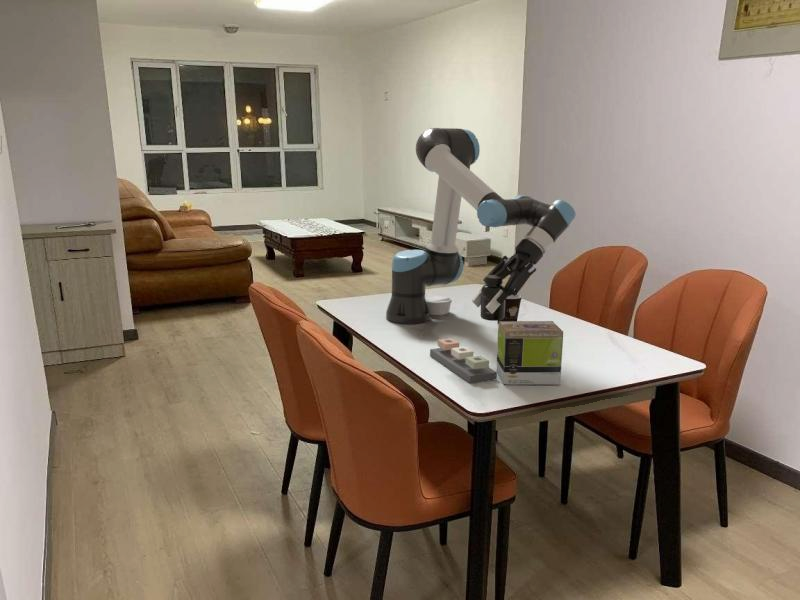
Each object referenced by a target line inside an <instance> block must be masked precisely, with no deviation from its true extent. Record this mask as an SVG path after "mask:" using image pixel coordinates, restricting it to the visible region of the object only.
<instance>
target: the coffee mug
mask: <svg viewBox="0 0 800 600" xmlns="http://www.w3.org/2000/svg"><path fill="white" fill-rule="evenodd" d="M521 302H522V295H521V294H519V293H517V295H515V296H513V295H511V296H508V297H507V298H506V299H505V317H504V318H503V319H502V320H498V321H496V322H497V326H498V325H499V321H518V318H519V313H520V308H521Z"/></svg>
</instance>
